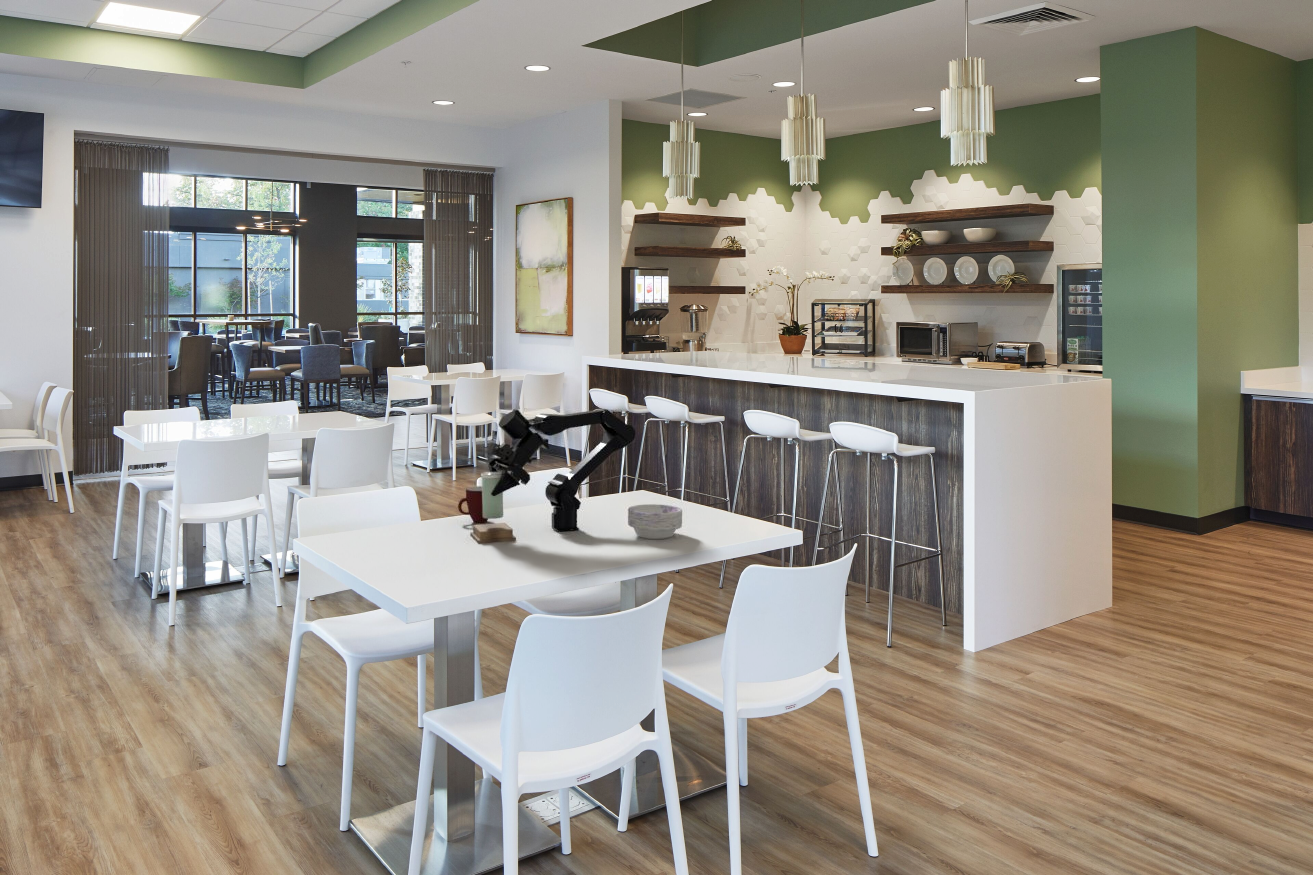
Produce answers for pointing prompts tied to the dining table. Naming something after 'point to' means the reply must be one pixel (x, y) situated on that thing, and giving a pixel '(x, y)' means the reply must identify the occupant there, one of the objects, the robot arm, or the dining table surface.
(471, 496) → the mug
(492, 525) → the pedestal
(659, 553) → the dining table surface
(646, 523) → the paper bowls
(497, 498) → the tumbler
